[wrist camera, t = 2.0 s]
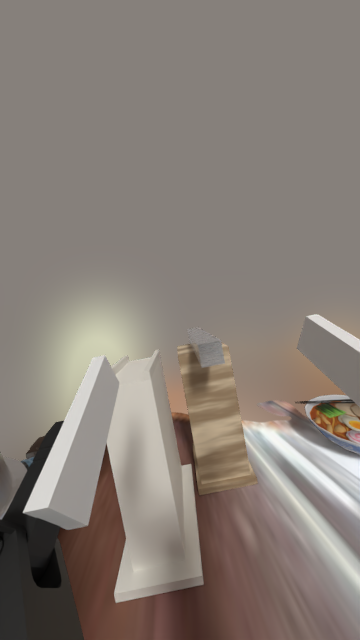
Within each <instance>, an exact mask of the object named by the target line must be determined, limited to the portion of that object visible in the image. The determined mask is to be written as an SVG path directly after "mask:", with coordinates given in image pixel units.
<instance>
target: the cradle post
mask: <svg viewBox="0 0 360 640" xmlns="http://www.w3.org/2000/svg"><path fill="white" fill-rule="evenodd" d="M111 368H112V370H113V372H114V374H115V375H116V377H117V379H118V381H119V383H120V384H119V388H118V393H117V397H116V402H115V406H114V411H113V415H112V420H111V424H110V429H109V433H108V438H107V447H108V452H109V457H110V462H111V467H112V471H113V476H114V481H115V486H116V491H117V496H118V501H119V505H120V510H121V515H122V520H123V525H124V530H125V535H126V542H125V547H124V551H123V556H122V560H121V565H120V569H119V574H118V578H117V583H116V587H115V592H114V596H115V601H116V603H118V602H122V601H127V600H132V599H137V598H142V597H146V596H151V595H156V594H161V593H166V592H170V591H175V590H180V589H185V588H190V587H194V586H199V585H204V581H203V572H202V562H201V552H200V542H199V532H198V523H197V513H196V503H195V493H194V483H193V474H192V466H191V464H188V465H183V466H181V462H180V457H179V452H178V447H177V441H176V436H175V431H174V425H173V420H172V415H171V410H170V404H169V399H168V394H167V389H166V383H165V379H164V373H163V367H162V362H161V357H160V351H159V350H155V352H154V354H153V355H152V357H149V358H144V359H138V360H133V361H129V357H128V356H124V357H123V358H121V359H120V360H119V361H118V362H116V363H115V364H114V365H113V366H112V367H111Z"/></svg>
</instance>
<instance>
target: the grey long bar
mask: <svg viewBox="0 0 360 640" xmlns="http://www.w3.org/2000/svg"><path fill="white" fill-rule="evenodd" d="M187 332H188V338H189V342H190V344H191V346H192V348H193V350H194V353H195V355H196V357H197V359H198V361H199V363H200V365H201V367H202V368H204V367H209V366H214V365H220V364H225V360H224V354H223V349H222V343H221V340H220V339H218V338H216V337H215V336H213V335H211V334H210V333H208V332H206V331H204V330H203V329H201V328H199V327H198V328H192V329H187Z"/></svg>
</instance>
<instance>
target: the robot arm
mask: <svg viewBox="0 0 360 640" xmlns="http://www.w3.org/2000/svg"><path fill="white" fill-rule="evenodd" d="M297 349H298V350H299V351H300V352H301V353H302V354H303V355H305V356H306V357H307V358H308V359H309V360H310V361H311V362H312V363H313V364H314V365H315V366H316V367H317V368H318V369H320V370H321V371H322V372H323V373H324V374H325V375H326V376H327V377H328V378H329V379H330V380H331V381H333V382H334V384H335V385H337V386H338V387H339V388H340V389H341V390H342V391H343V392H344V393H345V394H346V395H347V396H348V397H349V398H350V399H351V400H353V401H354V402H355V403H356V404H357V405H358V406H359V407H360V340H359V339H358V338H356V337H354V336H353V335H351V334H349V333H348V332H346V331H344V330H343V329H341V328H339V327H338V326H336V325H334V324H333V323H331V322H329V321H328V320H326V319H324V318H323V317H321V316H320V315H318V314H315V315H310V316H306V317H305V321H304V325H303V328H302V332H301V335H300V339H299V343H298V346H297ZM119 384H120V383H119V381H118V379H117V377H116V375H115V374H114V372H113V370H112V368H111V366H110V364H109V362H108V360H107V358H106V357H105V356H99V357H94V358H93V359H92V361H91V363H90V366H89V368H88V370H87V372H86V374H85V376H84V379H83V381H82V383H81V385H80V388H79V390H78V392H77V394H76V396H75V398H74V401H73V403H72V405H71V407H70V410H69V412H68V414H67V416H66V418H65V420H64V421H60V422H56V423H55V424H54V425H53V426H52V428H51V429H50V430H49V431H48V433H47V434H46V435H45V437H44V439H43V441H42V443H41V445H40V447H39V451H37V453H36V455H35V457H31V458H29V459H25V460H23V461H21V462H20V461H18V460H16V459H13V458H7V457H3V456H2V454H1V452H0V640H84V637H83V633H82V629H81V625H80V621H79V617H78V613H77V609H76V605H75V601H74V597H73V593H72V589H71V585H70V581H69V577H68V573H67V569H66V565H65V561H64V557H63V553H62V549H61V545H60V542H59V540H58V538H57V536H58V533H59V530H60V527H61V528H64V529H67V530H71V529H75V528H80V527H85V526H88V523H89V518H90V514H91V509H92V505H93V500H94V496H95V491H96V487H97V482H98V478H99V473H100V469H101V465H102V460H103V456H104V451H105V447H106V442H107V438H108V433H109V429H110V424H111V420H112V415H113V411H114V406H115V402H116V397H117V393H118V388H119Z"/></svg>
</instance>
